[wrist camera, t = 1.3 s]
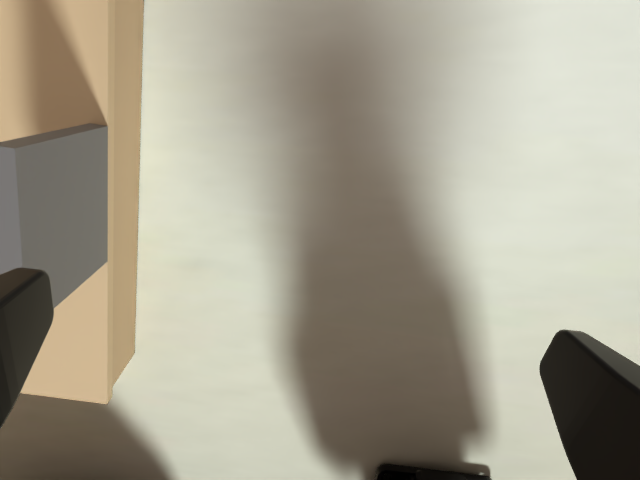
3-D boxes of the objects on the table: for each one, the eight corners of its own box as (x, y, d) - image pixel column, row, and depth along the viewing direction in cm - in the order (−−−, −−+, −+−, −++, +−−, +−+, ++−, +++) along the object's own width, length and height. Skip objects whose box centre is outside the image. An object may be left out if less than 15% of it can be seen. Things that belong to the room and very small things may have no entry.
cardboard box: (134, 353, 23) (108, 393, 20) (-33, 330, 22) (-84, 368, 19) (145, -67, 17) (109, -96, 14) (-84, -109, 16) (-169, -149, 13)
